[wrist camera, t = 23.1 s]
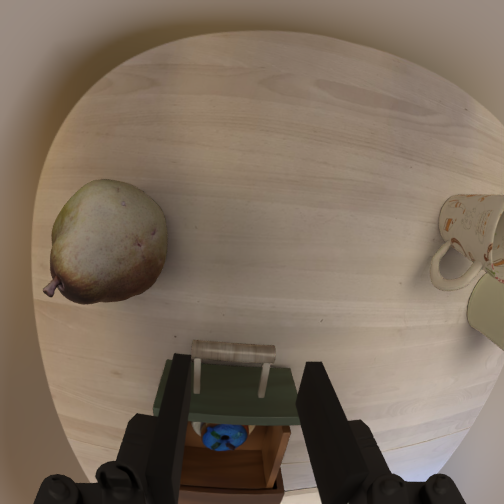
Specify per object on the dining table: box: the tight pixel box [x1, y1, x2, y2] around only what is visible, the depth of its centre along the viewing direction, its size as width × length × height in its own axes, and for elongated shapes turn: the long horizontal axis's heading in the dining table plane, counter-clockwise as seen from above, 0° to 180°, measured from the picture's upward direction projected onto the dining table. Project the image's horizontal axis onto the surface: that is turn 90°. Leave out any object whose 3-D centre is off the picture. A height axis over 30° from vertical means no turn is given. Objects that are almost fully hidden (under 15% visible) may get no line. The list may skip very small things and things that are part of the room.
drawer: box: [153, 340, 301, 490], centre depth 29 cm, size 20×13×8 cm, turn 174°
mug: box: [430, 195, 504, 291], centre depth 25 cm, size 8×13×10 cm, turn 137°
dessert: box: [191, 421, 255, 451], centre depth 31 cm, size 8×7×6 cm
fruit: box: [43, 179, 167, 304], centre depth 22 cm, size 10×9×12 cm
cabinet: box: [178, 468, 285, 504], centre depth 33 cm, size 16×15×10 cm
